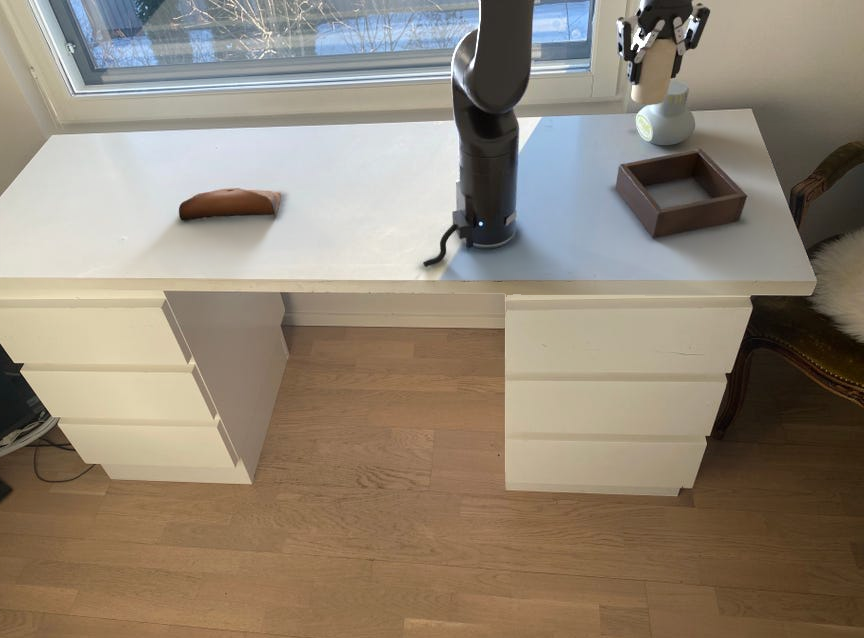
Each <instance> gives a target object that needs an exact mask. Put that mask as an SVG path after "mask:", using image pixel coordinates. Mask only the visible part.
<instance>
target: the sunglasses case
mask: <svg viewBox="0 0 864 638" xmlns="http://www.w3.org/2000/svg"><path fill="white" fill-rule="evenodd" d="M281 198H282V195H281V193H280V192H277V191H274V190H266V189H265V190H262V189H244V188H240V187H237V188H236V187H233V188H232V187H231V188H230V187H229V188H221V189H220V188H219V189H217V190H216V189H215V190H212V191H211V190H210V191H207V192H200V193H197V194H195V195H194V196H192V197H190V198H188V199H186V200H184V201H182V202H181V203H180V204H179V206H178V214H179V215H178V217H179V220H180V221H193V220H202V219H210V218H222V217H223V218H225V217H227V218H229V217H248V216H278V213H279V209H280V204H281V200H282V199H281Z"/></svg>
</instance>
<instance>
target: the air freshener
mask: <svg viewBox="0 0 864 638" xmlns="http://www.w3.org/2000/svg"><path fill="white" fill-rule="evenodd" d="M689 92H690V88H689V87H688V85H687V84H685V83H683V82H681V81H679V80H678V81H677V80H670V83H669V88H668V93H667V97H666V99H665V101H663V102H662V103H659V104H655V105H645V106H644V107H642V108H641V109H640V110H639V111H638V113H637V114H636V116H635V127H636V130H637V132H638V134H639V135H640V137H641V138H642V139H643V140H644V141H646V142H647V143H650V144H652V145H658V146H672V145H676V144H679V143H681V142H684V141H685V140H687V139H688V138H690V137H691V136H692V135H693V133H694V132H695V129H696V120H695V117H694V115H693V113H692V111H691V110H690V108H689V107H687V101H688V97H689Z"/></svg>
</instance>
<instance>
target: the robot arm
mask: <svg viewBox="0 0 864 638" xmlns="http://www.w3.org/2000/svg"><path fill="white" fill-rule="evenodd" d="M693 1H694V0H639V7H638V9H637V11H636V12H635V14H634V15H632V16H630V17H627V18H624V17H623V16H620V17H618V18H617V20H616V41H617V42H616V49H617V55H618V56H619V57H621V58H622V60H623V61H624V62H627V70H626V76H625V77H626V80H628V81H629V83H630V84H631V85H632V86H633V85H638V84H639V79H640V73H641V67H642V62H641V60H642V58H643V56H644V55H645V53H646V51H647V50H649V49H650V48H651V46H652V44H653V42H654V41H656V40H657V39H662V38H667V39H668V38H672V39H673V40H674V41H675V43H676V45H677V49H676V54H675V59H674V64H673V69H672V73H671V78H670V80H671V79H675V78H677V75H678V74H679V73H680V71H681V66H682V63H683V58H684V54H686V52H687V51H689V50H695V49H696V48H697V47H698V46H699V44H700V43H699V42H700V40H701V37H702V35H703V32H704V30H705V27H706V25H707V22H708V20H709V17H710V14H711V9H710V8H708V7H707V6H705V5H704V4H703V3H701V2H699V3H697V4H695V5H693ZM478 2H479V21H478V22H479V23H478V28H476V29H473V30H471V31H470V32H468V33H467V34H465V36H463V38H462V39H461V40H460V41H459V42H458V44H457V46H456V47H455V50H454V53H453V56H452V61H451V67H450V68H451V69H450V70H451V71H450V72H451V73H450V75H451V76H450V77H451V80H450V81H451V97H452V113H453V120H454V125H455V129H456V132H457V139H458V141H457V142H458V144H457V145H458V178H459V179H457V180H456V181H455V199H456V200H455V201H456V205H455V206H456V210H454V211H452V213H451V215H452V224H451V226H450V227H449V228H447V230H446V231H445V232H444V233H443V235H442V236H441V238H440V242H439V249H440V250H439V253H438V254H437V256H435V257H433V258H430V259H427V260H425V261H423V262H422V265H423V266H424V267H425V268H428V267H430V266H432V265H436V264H438V263H440V262H441V261H442V260H444V258H445V256H446V255H447V242H448V240H449V238H450V237H451V236H452V235H453V234H454V233H455V232H456V234H457V236H458V239H459V240H462V241H463V244H464V246H465V248H467V249H468V248H475V249H482V250H492V249H493V250H494V249H498V248H501V247H503V246H506V245H508V244H509V243H510V242H511V241H513V240H514V238H515V236H516V230H517V229H516V223H517V222H516V218H517V192H518V172H519V171H518V169H519V150H520V124H519V120H518V117H517V115H516V112H515V107H517V105H518V104H519V102H521V100H522V99H523V97H524V96H525V94H526V91H527V89H528V87H529V83H530V79H531V74H532V73H531V72H532V54H533V53H532V51H533V28H534V27H533V24H534V10H535V9H534V8H535V0H478ZM688 19H689V22H688V24H687V27H686V30H685V33H684V29H683V26H684V25H685V24H686V22H687V21H688ZM637 25H638V29H637V31H636V33H635V28H636V26H637ZM634 33H635V35H634V37H633V43H632V34H634ZM645 38H646V39H645Z"/></svg>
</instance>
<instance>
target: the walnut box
mask: <svg viewBox="0 0 864 638" xmlns="http://www.w3.org/2000/svg"><path fill="white" fill-rule="evenodd" d="M690 178H693V180H694V181H695V182H696V183H697V184H698V185H699V186H700V187H701V188H702V189H703V191H704V192H706V193H707V195H708V196H709V197H710V198H707V199H704V200H698V201H694V202H689V203H684V204H679V205H674V206H669V207H663V208H662V207H660V205H659V203H657V202H656V200H655V199H654V197H653V196H652V195H651V194H650V193H649V191H648V190H647V189H646V187H650V186H654V185H660V184H663V183H664V184H665V183H670V182H675V181H679V180H684V179H690ZM614 188H615V191H616V192H617V193H618V195H619V196H620V198H621V199H622V200H623V201H624V202H625V204H626V205H627V206H628V208H629V209H630V210H631V212H632V213H633V214H634V216H635V217H636V219H637V220H638V221H639V222H640V224H641V225H642V226H643V228H644V229H645V230H646V231H647V233H648V234H649V235H650V237H651V238H652V239H657V238H658V239H659V238H662V237H667V236H672V235H677V234H683V233H687V232H692V231H697V230H701V229H706V228H712V227H714V226H716V227H717V226H721V225H725V224H730V223H736V222H740V220H741V217H742V214H743V211H744V208H745V204H746V201H747V198H748V194H747V193H746V192H745V191H744V190H743V189H742V188H741V187H740V186H739V185H738V184H737V183H736V182H735V181H734V180H733V179H732V178H731V177H730V176H729V174H727V173H726V172H725V171H724V170H723V169H722V168H721V167H720V166H719V165H718V164H717V163H716V162H715V160H713V159H712V158H711V157H710V156H709V155H708V153H707V152H706V151H704V149H703V148H696V149H692V150H687V151H682V152H676V153H672V154H667V155H661V156H657V157H651V158H646V159H641V160H637V161H631V162H627V163H620V164H618V170H617V176H616V182H615V187H614Z"/></svg>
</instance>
